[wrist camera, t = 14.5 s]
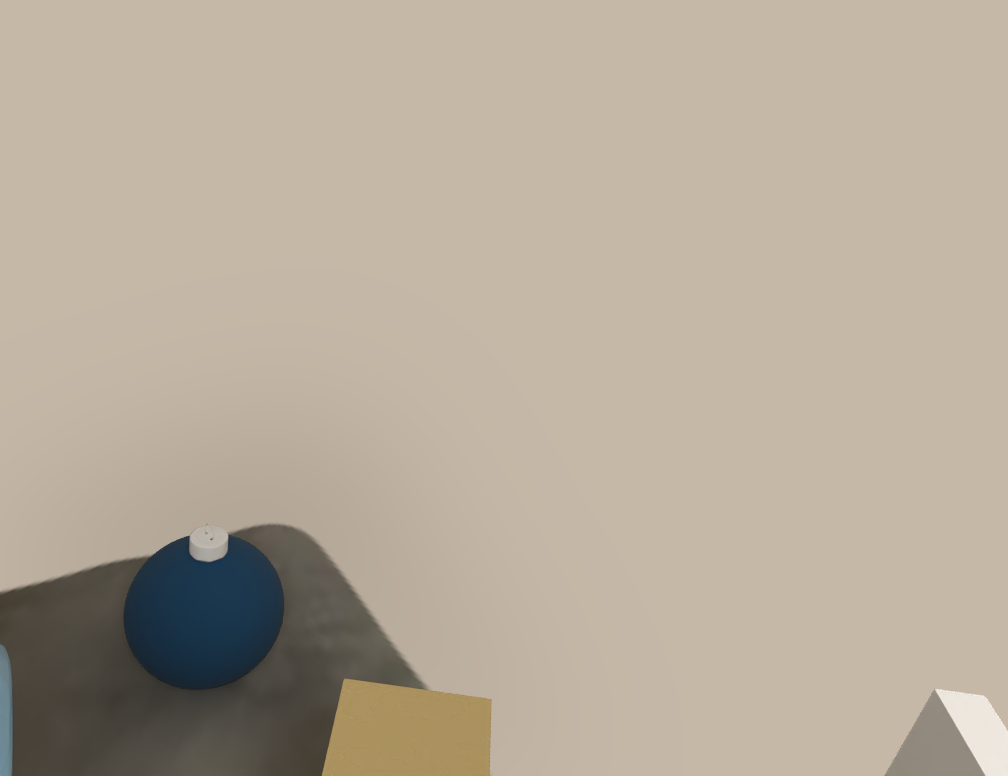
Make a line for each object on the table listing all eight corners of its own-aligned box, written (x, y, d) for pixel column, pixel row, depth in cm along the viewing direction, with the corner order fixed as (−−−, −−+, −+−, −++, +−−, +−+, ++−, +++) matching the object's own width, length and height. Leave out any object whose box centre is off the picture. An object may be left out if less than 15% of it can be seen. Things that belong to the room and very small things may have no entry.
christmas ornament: (306, 679, 50) (321, 543, 45) (167, 749, 44) (168, 601, 39) (234, 595, 54) (241, 465, 50) (99, 649, 49) (94, 507, 44)
